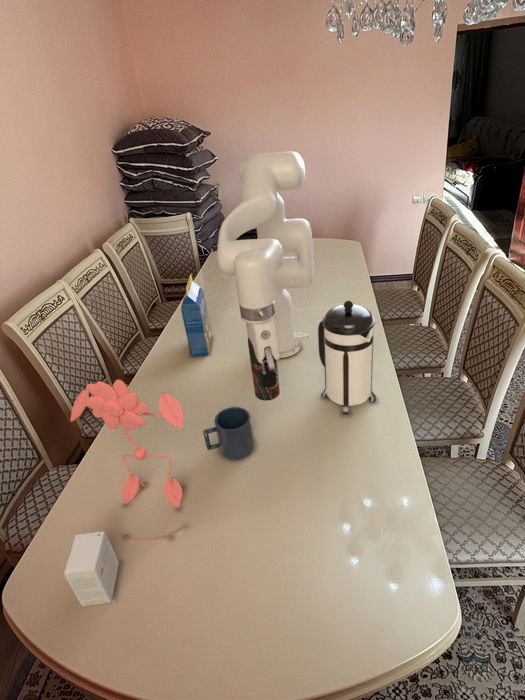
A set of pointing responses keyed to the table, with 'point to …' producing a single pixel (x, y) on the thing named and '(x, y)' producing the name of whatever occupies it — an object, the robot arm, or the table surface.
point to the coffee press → (347, 354)
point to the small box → (92, 568)
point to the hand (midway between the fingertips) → (265, 377)
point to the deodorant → (256, 368)
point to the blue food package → (196, 320)
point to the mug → (232, 433)
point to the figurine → (130, 426)
